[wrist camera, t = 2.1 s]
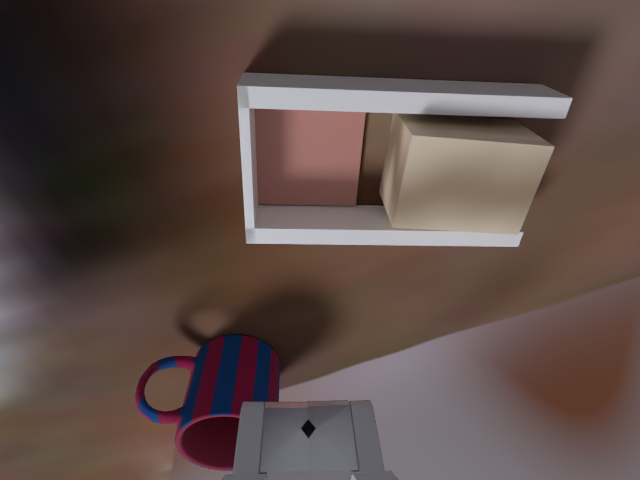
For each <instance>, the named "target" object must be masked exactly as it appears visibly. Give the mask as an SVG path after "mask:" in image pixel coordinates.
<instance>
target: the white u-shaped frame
mask: <svg viewBox="0 0 640 480" xmlns="http://www.w3.org/2000/svg"><path fill="white" fill-rule="evenodd" d="M237 95H238V112H239V129H240V145H241V162H242V179H243V196H244V213H245V229H246V243H253V244H336V245H419V246H502V247H518V246H519V243H520V241H521V238H522V235H523V231H522V230H521V229H520V232H519V234H518V235H513V234H495V233H478V232H461V231H444V230H426V229H409V228H392V225H391V223H390V220H389V217H388V215H387V212H386V209H385V207H384V206H377V205H356V199H357V190H358V180H359V171H360V161H361V152H362V142H363V133H364V123H365V114H366V112H374V113H404V114H433V115H463V116H493V117H523V118H553V119H565V118H566V115H567V113H568V110H569V107H570V104H571V102H572V99H573V98H571V97H569V96H567V95H565V94H562V93H560V92H558V91H556V90H554V89H551V88H549V87H547V86H545V85H542V84H525V83H499V82H473V81H448V80H422V79H397V78H371V77H346V76H320V75H295V74H269V73H243V75H242V77H241V79H240V81H239V83H238V85H237Z"/></svg>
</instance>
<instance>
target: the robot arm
mask: <svg viewBox="0 0 640 480" xmlns="http://www.w3.org/2000/svg"><path fill="white" fill-rule="evenodd" d="M222 480H398V479H397V477H396V476H395V475H394V474H393V472H392V471H385V470H384V464H383V459H382V453H381V448H380V442H379V437H378V431H377V426H376V420H375V415H374V410H373V405H372V403H371V401H370V400H362V401H348V400H334V401H307V402H243V404H242V407H241V412H240V419H239V427H238V435H237V443H236V450H235V458H234V466H233V474H228V475H225V476H224V478H223V479H222Z"/></svg>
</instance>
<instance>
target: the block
mask: <svg viewBox="0 0 640 480" xmlns="http://www.w3.org/2000/svg"><path fill="white" fill-rule="evenodd" d="M554 147H555V146H553V145H552V144H550V143H549V142H547V141H546V140H544V139H543V138H541V137H540V136H538V135H537V134H535V133H534V132H532V131H531V130H529V129H528V128H526V127H525V126H523V125H522V124H520V123H519V122H517V121H516V120H512V119H500V118H488V117H476V116H463V115H433V114H404V113H393V118H392V124H391V129H390V134H389V139H388V145H387V150H386V155H385V161H384V166H383V171H382V177H381V182H380V187H379V193H380V196H381V199H382V201H383V204H384V207H385V209H386V212H387V215H388V217H389V220H390V223H391V225H392V228H409V229H426V230H444V231H461V232H478V233H495V234H513V235H518V234H519V232H520V229H521V227H522V225H523V222H524V220H525V217H526V215H527V213H528V210H529V208H530V205H531V203H532V200H533V198H534V196H535V193H536V191H537V188H538V186H539V184H540V181H541V179H542V176H543V174H544V171H545V169H546V167H547V164H548V162H549V159H550V157H551V155H552V152H553V150H554Z"/></svg>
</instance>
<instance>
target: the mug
mask: <svg viewBox="0 0 640 480" xmlns="http://www.w3.org/2000/svg"><path fill="white" fill-rule="evenodd" d="M171 367H179V368H186V369H188V370H191V376H190V380H189V384H188V388H187V392H186V395H185V399H184V403H183V407H181V408H178V409H176V410H173V411H167V412H165V411H158V410H156V409H153V408H152V407H151V406H149V405H148V403H147V402H146V400H145V395H144V389H145V385H146V383H147V381H148V379H149V378H150V376H151V375H152V374H154V373H155V372H157V371H159V370H162V369H166V368H171ZM279 376H280V361H279V357H278V355H277V353H276V352H275V351H274V349H273V348H272V347H270V346H269V345H268V344H267V343H265V342H263V341H262V340H259V339H257V338H254V337H250V336H246V335H226V336H222V337H218V338H215V339H213V340H211V341H209V342H208V343H206V344H205V345H204V346H203V347H201V349H200V350H199V351H198V353H197V356H196V357H191V356H172V357H167V358H164V359H161V360H158V361H156V362H155V363H153V364H152V365H151V366H150V367H149V368H148V369H147V370H146V371H145V372H144V374H143V375H142V377H141V378H140V380H139V382H138V385H137V389H136V394H135V405H136V409H137V411H138V412H139V414H140V415H141V416H142V417H144V418H145V419H147V420H150V421H152V422H156V423H166V424H170V423H177V425H178V426H177V432H176V436H175V444H176V448H177V449H178V451H179V453H180V454H181V455H182V456H183V457H185V458H186V459H187V460H189V461H190V462H192V463H194V464H196V465H199V466H201V467H205V468H208V469H214V470H223V471H233V466H234V458H235V450H236V443H237V435H238V427H239V419H240V412H241V407H242V404H243V402H278V401H279Z"/></svg>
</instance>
